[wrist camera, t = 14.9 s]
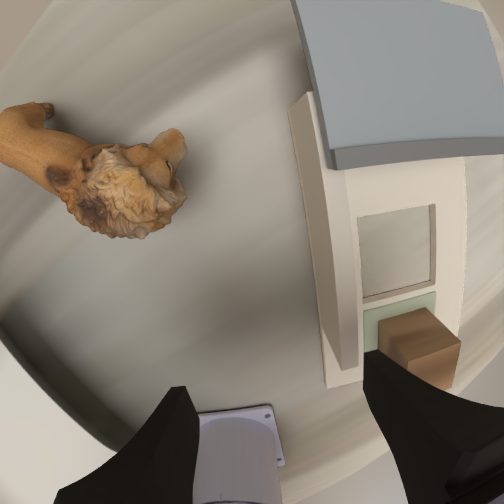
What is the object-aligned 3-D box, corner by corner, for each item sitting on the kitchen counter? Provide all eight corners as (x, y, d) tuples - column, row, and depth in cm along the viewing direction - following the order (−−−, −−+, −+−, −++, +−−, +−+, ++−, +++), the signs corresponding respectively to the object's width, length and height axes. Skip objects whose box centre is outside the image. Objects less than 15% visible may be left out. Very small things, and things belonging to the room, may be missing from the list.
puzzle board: (450, 343, 23) (484, 380, 18) (324, 382, 23) (342, 434, 18) (449, 101, 17) (502, 93, 11) (287, 110, 17) (307, 92, 12)
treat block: (421, 349, 22) (451, 387, 17) (376, 363, 22) (401, 406, 17) (425, 307, 20) (461, 341, 16) (377, 320, 20) (408, 361, 16)
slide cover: (503, 151, 12) (520, 153, 11) (327, 168, 12) (337, 170, 11) (474, 16, 10) (488, 9, 8) (289, -3, 10) (294, -18, 9)
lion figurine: (217, 143, 18) (197, 133, 9) (189, 227, 19) (151, 286, 11) (26, 97, 16) (-63, 86, 7) (9, 168, 17) (-80, 187, 9)
